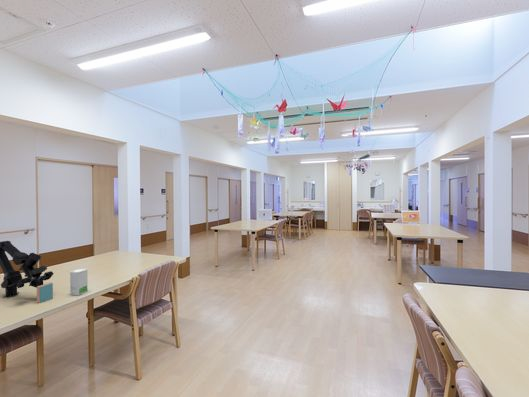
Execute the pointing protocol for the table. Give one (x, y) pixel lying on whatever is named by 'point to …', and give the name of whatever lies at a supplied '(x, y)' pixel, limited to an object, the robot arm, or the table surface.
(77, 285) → the skincare box
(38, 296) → the pink flat block
